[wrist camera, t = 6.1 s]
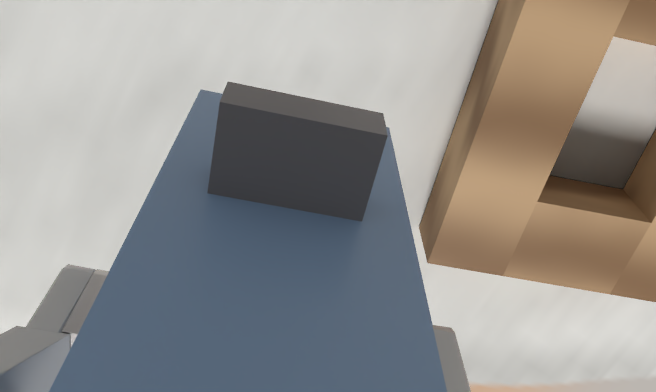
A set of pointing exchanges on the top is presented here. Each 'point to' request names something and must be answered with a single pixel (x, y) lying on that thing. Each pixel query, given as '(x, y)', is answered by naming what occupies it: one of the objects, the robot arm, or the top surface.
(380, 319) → the block
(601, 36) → the wooden base block
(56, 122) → the top surface
